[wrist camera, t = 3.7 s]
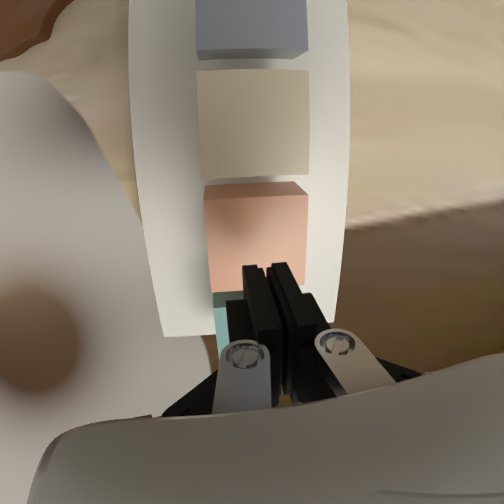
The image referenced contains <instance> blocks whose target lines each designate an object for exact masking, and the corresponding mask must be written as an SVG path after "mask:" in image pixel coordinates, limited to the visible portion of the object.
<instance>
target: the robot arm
mask: <svg viewBox="0 0 504 504" xmlns="http://www.w3.org/2000/svg"><path fill="white" fill-rule="evenodd" d="M242 279H243V299H238V300H226V314H227V325H228V335H229V344H228V345H227V346H225V348H224V349H223V350H222V352H221V354H220V360H219V367H218V370H216V371H215V372H214V373H213V374H211V375H210V376H209V377H208V378H206V379H205V380H204V381H203V382H201V383H200V384H199V385H197V386H196V387H195V388H194V389H192V390H191V391H190V392H188V393H187V394H186V395H185V396H183V397H182V398H181V399H179V400H178V401H177V402H176V403H174V404H173V405H172V406H170V407H169V408H168V409H167V410H166V411H165V412H164V413H163V414H162V416H159V417H153V418H152V415H147V416H140V417H135V418H127V419H115V420H107V421H101V422H95V423H90V424H87V425H83V426H79V427H76V428H73V429H71V430H68V431H66V432H64V433H62V434H60V435H59V436H57V437H56V438H55V439H54V440H53V441H52V442H51V443H50V444H49V446H48V447H47V448H46V450H45V452H44V454H43V455H42V458H41V460H40V462H39V465H38V467H37V470H36V473H35V476H34V478H33V482H32V485H31V489H30V493H29V497H28V501H27V504H504V353H500V354H493V355H487V356H483V357H479V358H475V359H472V360H469V361H466V362H463V363H460V364H456V365H453V366H450V367H447V368H444V369H441V370H438V371H435V372H427V373H425V374H424V375H421V374H420V373H418V372H416V371H414V370H411V369H408V368H405V367H402V366H399V365H396V364H393V363H390V362H387V361H385V360H382V359H379V358H376V357H374V356H373V355H372V354H371V352H370V351H369V350H368V349H367V348H366V347H365V345H364V344H363V343H362V342H361V341H360V340H359V338H358V337H357V336H355V335H354V334H353V333H351V332H349V331H347V330H343V329H331V328H330V326H329V324H328V323H327V321H326V319H325V317H324V315H323V313H322V311H321V309H320V308H319V306H318V304H317V302H316V300H315V298H314V296H313V295H312V293H310V292H309V293H302V292H301V290H300V288H299V286H298V284H297V282H296V280H295V278H294V276H293V274H292V272H291V270H290V268H289V266H288V264H287V262H279V263H272V264H271V267H267V268H266V276H265V273H264V270H263V268H258V267H257V264H255V265H242ZM281 384H282V388H283V391H284V394H285V395H289V394H290V397H291V400H292V403H295V402H302V404H296V405H290V406H283V407H276V406H277V405H278V403H279V396H280V395H281ZM275 407H276V408H275Z"/></svg>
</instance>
